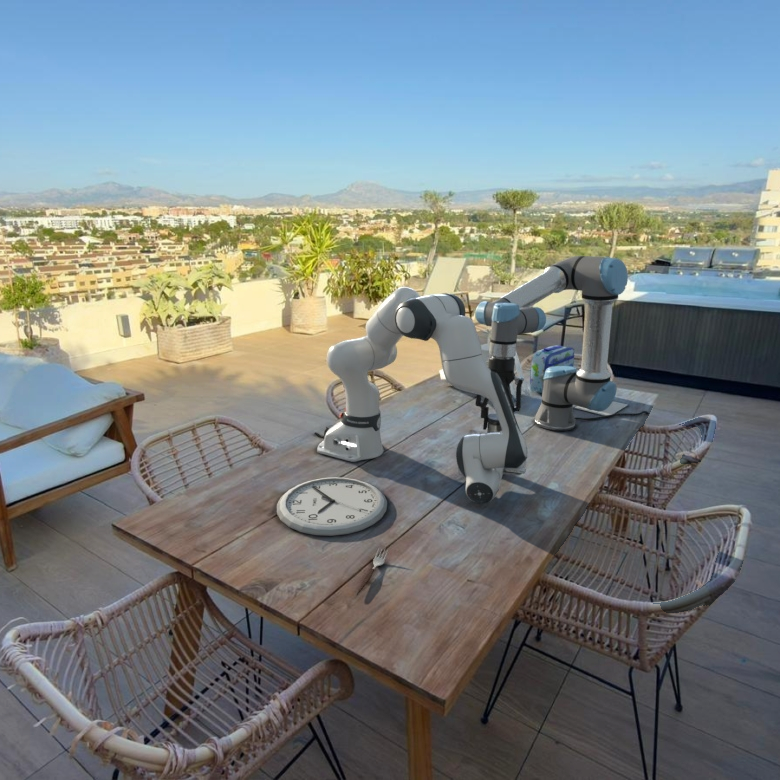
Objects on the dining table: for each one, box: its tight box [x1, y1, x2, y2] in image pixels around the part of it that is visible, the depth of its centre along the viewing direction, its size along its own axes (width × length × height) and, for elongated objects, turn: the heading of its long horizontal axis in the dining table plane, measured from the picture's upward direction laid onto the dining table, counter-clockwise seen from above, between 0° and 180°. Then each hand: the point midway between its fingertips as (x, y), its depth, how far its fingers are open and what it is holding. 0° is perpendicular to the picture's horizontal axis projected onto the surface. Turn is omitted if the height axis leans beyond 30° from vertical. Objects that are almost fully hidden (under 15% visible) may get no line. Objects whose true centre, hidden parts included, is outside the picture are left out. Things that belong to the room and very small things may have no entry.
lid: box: [487, 413, 500, 425], centre depth 159 cm, size 6×6×2 cm
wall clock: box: [276, 476, 388, 537], centre depth 142 cm, size 30×2×30 cm
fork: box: [356, 545, 389, 596], centre depth 114 cm, size 3×16×2 cm, turn 160°
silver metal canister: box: [486, 423, 502, 433], centre depth 162 cm, size 5×5×18 cm
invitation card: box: [573, 400, 629, 416], centre depth 226 cm, size 21×1×15 cm
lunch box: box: [529, 345, 575, 394], centre depth 245 cm, size 26×11×21 cm, turn 134°
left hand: (494, 450), depth 163 cm, fingers closed on silver metal canister, 5 cm apart
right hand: (496, 429), depth 160 cm, fingers open, 6 cm apart
